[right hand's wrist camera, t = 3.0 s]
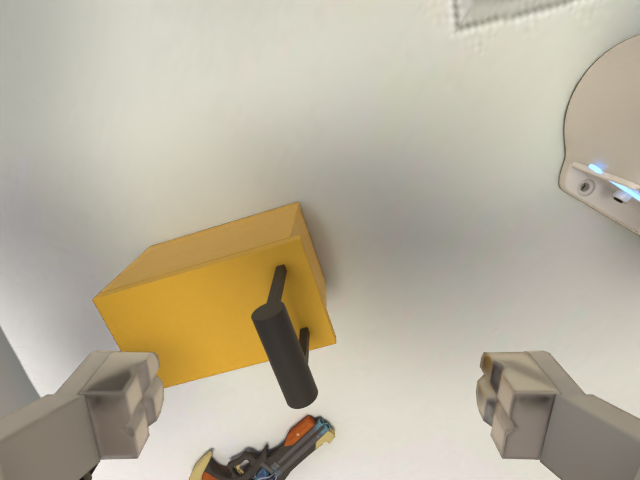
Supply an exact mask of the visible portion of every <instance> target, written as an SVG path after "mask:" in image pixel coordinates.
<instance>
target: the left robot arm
mask: <svg viewBox="0 0 640 480" xmlns="http://www.w3.org/2000/svg"><path fill="white" fill-rule="evenodd" d="M97 465H98V464H97ZM97 465H96V466H94V467H93V468H92V469H91V470H90V471H89V472H87V473H86V474H85V475H84V476H83V477H82V478H80V479H79V480H92V476H91V475H92V473H93V472H94V470H95V468H96V467H97Z"/></svg>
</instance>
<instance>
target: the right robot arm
mask: <svg viewBox="0 0 640 480" xmlns="http://www.w3.org/2000/svg"><path fill="white" fill-rule="evenodd" d="M564 138H565V147H566V157H565V161H564V164H563V167H562V170H561V174H560V179H559V185H560V187H561V189H562V190H563V191H564V192H566V193H568V194H569V195H571V196H573V197H575V198H576V199H578V200H580V201H581V202H583V203H585V204H586V205H588V206H590V207H592V208H593V209H595V210H597V211H598V212H600V213H602V214H603V215H605V216H607V217H609V218H610V219H612V220H614V221H615V222H617V223H619V224H620V225H622V226H624V227H626V228H627V229H629V230H631V231H632V232H634V233H636V234H637V235H639V236H640V35H637V36H634V37H632V38H629V39H627V40H625V41H623V42H621V43H619V44H618V45H616V46H614V47H613V48H612V49H610V50H609V51H607V52H606V53H605V54H604V55H602V56H601V57H600V58H599V59H598V60H597V61H596V62H595V63H594V64H593V65H592V66H591V67H590V68H589V70H588V71H587V72H586V73H585V75H584V76H583V77H582V79H581V80H580V82H579V84H578V85H577V87H576V89H575V91H574V93H573V95H572V97H571V100H570V102H569V105H568V109H567V112H566V118H565V125H564ZM584 183H585V187H584V188H583V189H582V190H581V186H582V184H584ZM159 368H160V363H159V358H158V355H157V354H156V353H155V352H134V351H115V352H114V351H95V352H92V353H90V354H89V355H88V356H87V358H86V359H85V360H84V361H83V362H82V363H81V364H80V365H79V367H78V368H77V369H76V370H75V371H74V372H73V373H72V375H71V376H70V377H69V378H68V379H67V380H66V381H65V383H64V384H63V385H62V386H61V387H60V388H59V389H58V391H57V392H56V393H55V394H54V395H46V396H44V397H42V398H40V399H38V400H36V401H34V402H32V403H30V404H28V405H26V406H24V407H22V408H20V409H18V410H16V411H15V412H13V413H11V414H9V415H7V416H5V417H3V418H1V419H0V480H79V479H80V478H82V477H83V476H84V475H85V474H86V473H87V472H89V471H90V470H91V469H92V468H93V467H94V466H96V465H97V464H98V463H99V462H100V460H102V459H136V458H138V457H139V455H140V453H141V451H142V449H143V447H144V445H145V443H146V441H147V439H148V437H149V430H148V426H150V425H151V424H153V423H154V422H155V421H157V419H158V417H159V414H160V412H161V409H162V404H163V400H164V387H163V381H162V380H161V379H160V378H159V377H158V376H157V375H156V373H157V371H158V369H159ZM480 368H481V369H482V371H483V373H484V375H483V376H482V377H481V378H480V379H479V380H478V381H477V388H476V398H477V405H478V409H479V412H480V414H481V417H482V419H483V421H485V422H486V423H487V424H489V425H490V426H492V430H491V437H492V439H493V441H494V443H495V445H496V447H497V449H498V451H499V453H500V455H501V457H502V458H503V459H538V460H540V462H541V463H542V464H543V465H545V466H546V467H547V468H548V469H549V470H550V471H552V472H553V473H554V474H555V475H556V476H557V477H559V478H560V479H561V480H640V419H639V418H637V417H635V416H633V415H631V414H629V413H627V412H625V411H623V410H622V409H620V408H618V407H616V406H614V405H612V404H610V403H608V402H606V401H604V400H602V399H600V398H598V397H596V396H594V395H586V394H585V393H584V392H583V391H582V389H581V388H580V387H579V386H578V385H577V384H576V383H575V381H574V380H573V379H572V378H571V377H570V376H569V375H568V374H567V372H566V371H565V370H564V369H563V368H562V367H561V366H560V364H559V363H558V362H557V361H556V360H555V359H554V358H553V356H552V355H551V354H550V353H548V352H546V351H524V352H484V353H483V355H482V357H481V362H480Z"/></svg>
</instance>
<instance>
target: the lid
mask: <svg viewBox="0 0 640 480" xmlns="http://www.w3.org/2000/svg"><path fill="white" fill-rule="evenodd" d="M93 302H94V304H95V305H96V307H97V309H98V311H99V312H100V314H101V316H102V318H103V320H104V321H105V323H106V325H107V327H108V328H109V330H110V332H111V334H112V336H113V337H114V339H115V341H116V343H117V344H118V346H119V348H120V350H121V351H134V352H155V353H156V354H157V355H158V358H159V363H160V368H159V369H158V371H157V373H156V375H157V376H158V377H159V378H160V379H161V380H162V381H163V387H164V388H166V387H170V386H174V385H178V384H182V383H186V382H190V381H193V380H197V379H201V378H205V377H209V376H213V375H217V374H220V373H224V372H228V371H232V370H236V369H240V368H243V367H247V366H251V365H255V364H259V363H263V362H267V361H269V362H270V364H271V366H272V369H273V371H274V373H275V376H276V378H277V380H278V383H279V385H280V388H281V390H282V392H283V395H284V397H285V399H286V402H287V404H288V406H290V407H291V408H294V409H301V408H304V407H307V406H308V405H310V404H311V403H313V402H314V401H315V399H316V398H317V395H318V389H317V387H316V384H315V382H314V379H313V376H312V374H311V371H310V369H309V366H308V356H309V350H313V349H317V348H321V347H324V346H328V345H332V344H336V335H335V332H334V329H333V327H332V324H331V321H330V318H329V315H328V312H327V309H326V306H325V303H324V301H323V298H322V295H321V292H320V289H319V286H318V283H317V280H316V278H315V275H314V272H313V269H312V266H311V263H310V260H309V257H308V254H307V252H306V249H305V246H304V243H303V240H302V237H301V235H298V236H295V237H291V238H288V239H284V240H281V241H277V242H274V243H271V244H267V245H264V246H260V247H257V248H254V249H250V250H247V251H243V252H240V253H236V254H233V255H230V256H226V257H223V258H219V259H216V260H213V261H209V262H206V263H202V264H199V265H195V266H192V267H189V268H185V269H182V270H178V271H175V272H171V273H168V274H165V275H161V276H158V277H154V278H151V279H148V280H144V281H141V282H137V283H134V284H130V285H127V286H124V287H120V288H117V289H113V290H110V291H107V292H103V293H100V294H98V295H97V296H96V297H95V298H93Z"/></svg>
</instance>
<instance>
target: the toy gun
mask: <svg viewBox="0 0 640 480" xmlns="http://www.w3.org/2000/svg"><path fill="white" fill-rule="evenodd" d="M334 437H335V431H334V430H333V429H331V427H330V425H329V424H328V423H325V424H324V421H323V420H322V419H321V418H320V419H319V420H318V419H317V420H314V419H313V418H311V417H310V416H307V417H306V418H305V419H303V420H302V421H301V422H300V423H299V424H298V425H296V426H295V427H294V428H293V429H292V430H291V431H290V432H289V433H288V435H287V438H286V440H285V443H284V444H283V445H282V446H281V447H280V448H279V449H277V450H276V451H275V452H273V453H271V454H269V455H268V447H267V445H266V446H265V448H264V450H263V452H262V453H261V455H260V456H256V455H255V454H254V453H252V452H249V451H246V452H244V453H243V454H242V455H241V456H240V457H238V458H236V459H234V460H232V461H230V462H228V465H227V468H228V469H229V470H230V471H231V473H230V472H226V471H223V470H221V469H219V468H217V467H216V466H215V465H214V464H213V462H212V461H211V457H212V452H208V453H207V454H205V455H204V456H203V457H202V458H201V459H200V460H199V461H198V462H197V464H196V465H195V467H194V468H193V471H192V473H191V475H190V477H189V480H253V479H252V478H251V477H252V476H253V475H254V478H255V479H254V480H285V479H286V477H287V476H288V475H289V473H290V472H291V471H292V470H293V469H294V468H295V467H296V466H297V465H298V464H299V463H300V462H302V461H303V460H304V459H305V458H306V457H307V456H308V455H310V454H311V453H312V452H313V451H314V450H316V449H317V448H318V447H320V446H321V445H322V444H323V443H324V442H328V443H329V444H330V442H331V441H332V440H333V439H334ZM244 460H248V461H249V462H250V465H249V466H248V467H247V468H246V469H245V470H244V471H243V470H242V469H241V468H240V465H241V464H240V463H242V462H243V461H244ZM234 466H236V468H237V471H236V470H235V468H234ZM261 466H262V467H261ZM239 470H240V471H241V472H240V471H239ZM258 470H259V471H258ZM257 471H258V473H257V475H256V472H257ZM274 474H275V475H276V477H275V478H274ZM255 476H256V477H255Z"/></svg>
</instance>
